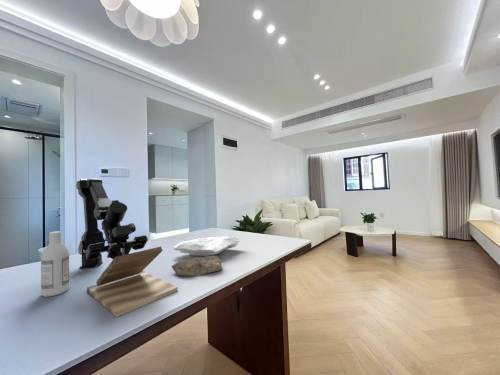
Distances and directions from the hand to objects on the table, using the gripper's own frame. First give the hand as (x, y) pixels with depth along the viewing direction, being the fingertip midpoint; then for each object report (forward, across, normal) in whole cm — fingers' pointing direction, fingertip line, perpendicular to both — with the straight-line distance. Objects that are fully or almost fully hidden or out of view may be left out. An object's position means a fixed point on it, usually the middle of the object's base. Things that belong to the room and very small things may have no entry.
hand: (126, 266), depth 73 cm
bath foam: (-6, -16, +17) cm, 24 cm away
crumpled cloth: (+1, +42, +9) cm, 43 cm away
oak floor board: (+8, 0, +2) cm, 8 cm away
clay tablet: (+10, +25, +1) cm, 27 cm away
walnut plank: (0, 0, +8) cm, 8 cm away
